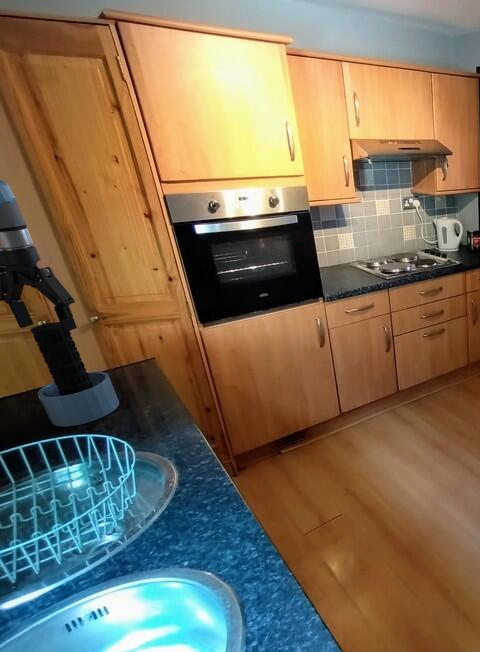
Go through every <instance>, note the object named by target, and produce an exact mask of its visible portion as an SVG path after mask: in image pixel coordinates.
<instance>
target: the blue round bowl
mask: <svg viewBox="0 0 480 652" xmlns="http://www.w3.org/2000/svg"><path fill="white" fill-rule="evenodd" d="M86 372H87V373H88V375H89V378H90V381H91V382H92V384H93V387H92V388H90V389H87V390H84V391H81V392H78V393H74V394H70V395H65V396H61V395H60V393H59V389H57V385H56V384H55V382H54V381H52V382H50V383H47V384H46V385H44V386H43V387H41V388H40V389H39V390H38V391H37V396H38V398H39V401H40V403H41V405H42V407H43V409H44V411H45V413H46V415H47V417H48V419H49V421H50V422H51V424H52V425H54V426H55V427H74V426H79V425H83V424H88V423H90V422H94V421H96V420H99V419H102V418H104V417H105V416H107V415H109V414H111V413H112V412H114V411H115V410H116V409H118V407H119V406H120V400H119V397H118V395H117V393H116V390H115V387H114V386H113V383H112V380H111V378H110V375H109V373H106V372H105V371H86Z"/></svg>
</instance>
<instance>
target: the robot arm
mask: <svg viewBox="0 0 480 652" xmlns="http://www.w3.org/2000/svg"><path fill="white" fill-rule="evenodd" d="M33 244H34V241H33V239H32V236H31V234H30V230H29V229H28V226H27V224H26V220H25V218H24V216H23V213H22V211H21V209H20V206H19V204H18V201H17V197H16V195H14V193H13V191H12V188H11V187H10V185H9V183H8V182H7V181H5V180H3V179H0V302H4V303H5V304H7V305H8V306H9V308H10V311H11V313H12V314H13V317H14V318H15V320H16V322H17V324H18V327H19V328H20V329H25V328H27V327H31V326H34V321H33V319H32V316H31V315H30V312H29V310H28V308H27V306H26V304H25V301H24V299H23V297H22V294H23V291H24V287H25V286H29V287H31V288H33V289H36V290H37V291H38V292H39V293H40V294H42V296H44V297H45V298H46V299H47V300H48V301H50V303H52V304H53V306H54V307H53V309H54V311H55V314H56V317H57V319H58V322H60V324H61V326H62V328H63V331H64V332H68V331H70V332H71V331H73V330H76V329H78V326H77V325H76V321H75V319H74V315H73V313H72V310H71V307H70V305H71V304H75V303H76V300H75V298H74V297H73V296H72V295H71V294H70V292H69V291H68V290H67V289H66V287H64V285H63V284H62V283H61V281H60V280H59V279H58V278H57V277H56V275H55V274H54V272H53V270H52V268H51V267H50V266H46V267H41V268H40V267H39V265H38V262H40V261H41V257H40V254H39V252H38V249H37V247H36V246H34V245H33Z"/></svg>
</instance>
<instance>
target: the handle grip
mask: <svg viewBox="0 0 480 652" xmlns="http://www.w3.org/2000/svg"><path fill="white" fill-rule="evenodd" d="M30 332H31V333H32V334H33V339H34V341H35V342H36V343H37V344H36V346H37V347H38V351H39V352H40V353H41V354H42V358H44V359H43V360H44V363H45V365H47V366H46V367H47V369H49V374H50V375H51V376H52V378H51V379H53V382H55V384H56V385H57V389H59V393H60V395H61V396H65V395H70V394H74V393H78V392H81V391H84V390H87V389H90V388H92V387H93V384H92V382H91V381H90V378H89V375H88V373H87V372H88V371H87V368H86V367H85V363H84V362H83V361H82V359H83V358H82V357H81V354H80V352H79V350H78V347H77V346H76V342H75V340H74V339H73V336H72V333H71V330H70V331H68V332H64V331H63V328H62V326H61V324H60V321H54V322H53V321H52V322H46V323H42V324H40V325H36V326H34V327H32V328H31V329H30Z"/></svg>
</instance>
